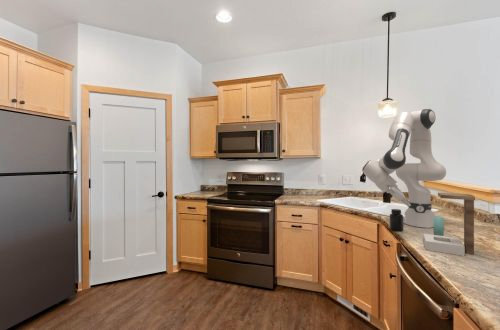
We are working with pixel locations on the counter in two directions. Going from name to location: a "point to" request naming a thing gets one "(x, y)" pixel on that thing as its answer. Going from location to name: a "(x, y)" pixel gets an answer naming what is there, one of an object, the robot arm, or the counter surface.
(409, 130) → the robot arm
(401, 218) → the supplement bottle
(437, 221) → the peg
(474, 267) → the counter surface
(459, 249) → the socket
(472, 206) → the brown wooden overhang stand
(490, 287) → the counter surface
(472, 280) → the counter surface
